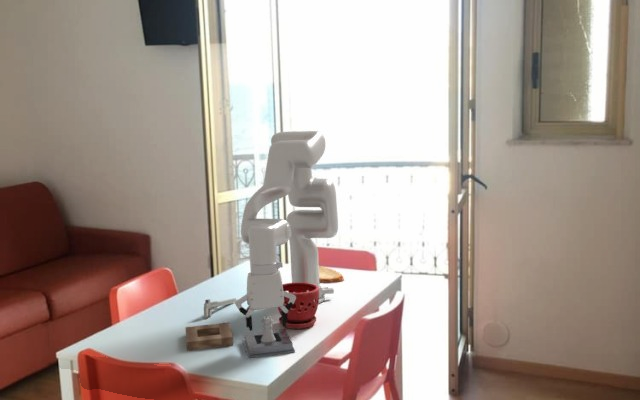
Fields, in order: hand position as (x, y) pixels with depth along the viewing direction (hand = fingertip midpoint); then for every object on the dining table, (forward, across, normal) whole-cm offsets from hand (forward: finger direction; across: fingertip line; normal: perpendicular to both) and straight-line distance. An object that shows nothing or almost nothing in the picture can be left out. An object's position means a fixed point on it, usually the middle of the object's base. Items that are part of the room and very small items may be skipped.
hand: (267, 327), depth 192 cm
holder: (+6, 0, 0) cm, 6 cm away
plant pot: (+6, -12, -16) cm, 21 cm away
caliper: (+6, +10, -39) cm, 41 cm away
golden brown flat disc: (+6, -30, -67) cm, 74 cm away
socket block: (+6, +16, -11) cm, 20 cm away
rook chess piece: (+5, 0, 0) cm, 5 cm away
